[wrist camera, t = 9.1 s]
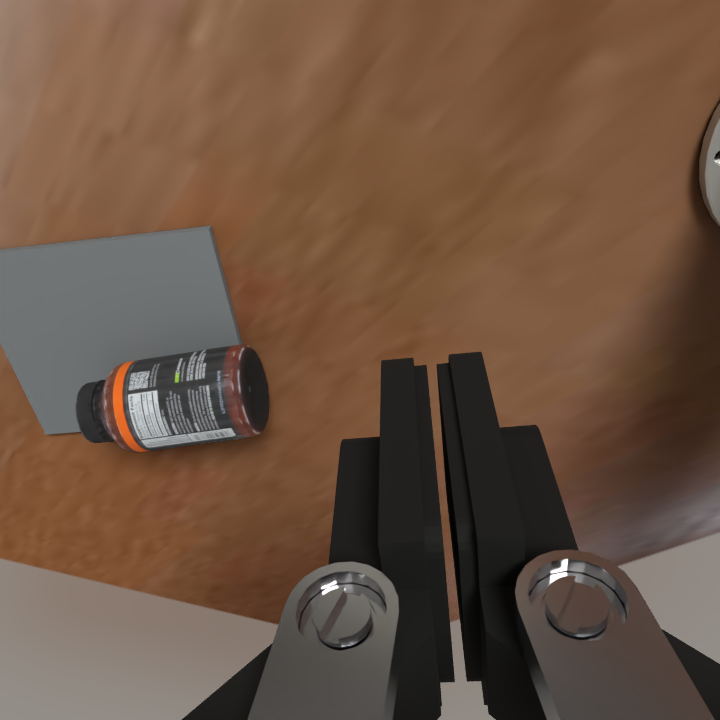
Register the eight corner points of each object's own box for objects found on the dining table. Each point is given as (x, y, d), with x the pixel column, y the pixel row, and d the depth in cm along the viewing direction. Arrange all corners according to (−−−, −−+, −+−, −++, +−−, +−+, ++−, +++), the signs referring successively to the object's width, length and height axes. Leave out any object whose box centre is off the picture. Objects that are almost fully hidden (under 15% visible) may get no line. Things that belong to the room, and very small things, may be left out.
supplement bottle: (277, 404, 43) (125, 424, 45) (255, 327, 41) (94, 351, 42) (260, 456, 38) (88, 476, 40) (232, 370, 36) (50, 396, 37)
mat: (211, 225, 38) (209, 229, 37) (260, 412, 45) (258, 417, 44) (-38, 253, 39) (-43, 257, 39) (49, 429, 47) (45, 434, 46)
